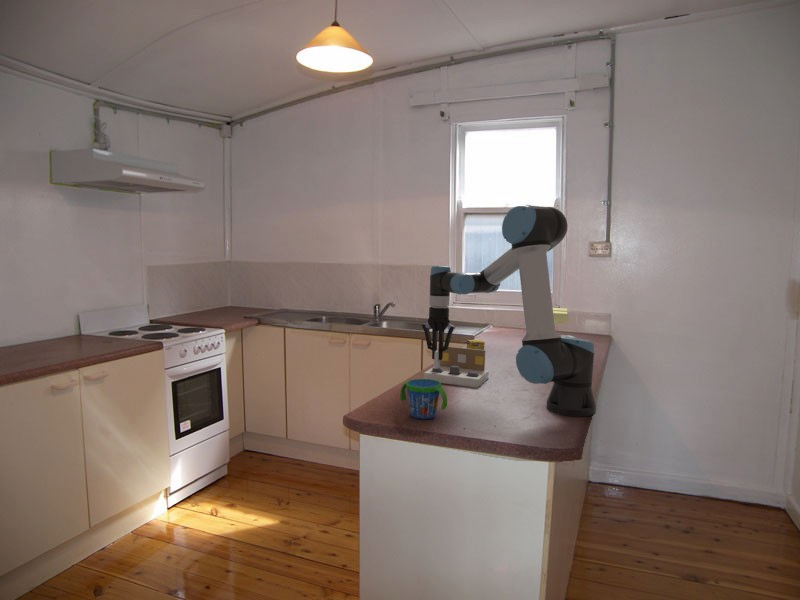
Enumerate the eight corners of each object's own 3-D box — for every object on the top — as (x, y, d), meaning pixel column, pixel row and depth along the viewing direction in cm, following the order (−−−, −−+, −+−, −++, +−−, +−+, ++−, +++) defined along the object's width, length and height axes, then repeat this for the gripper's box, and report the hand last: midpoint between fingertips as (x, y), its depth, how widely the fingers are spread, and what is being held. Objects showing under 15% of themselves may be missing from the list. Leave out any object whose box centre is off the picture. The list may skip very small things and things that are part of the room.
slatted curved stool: (536, 337, 316) (538, 306, 314) (565, 339, 311) (567, 308, 310) (533, 346, 287) (535, 312, 285) (565, 349, 283) (567, 314, 281)
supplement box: (470, 367, 233) (471, 342, 232) (465, 364, 239) (466, 339, 238) (483, 367, 235) (484, 341, 233) (478, 364, 240) (479, 339, 239)
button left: (439, 379, 209) (440, 370, 209) (430, 378, 211) (431, 369, 210) (442, 377, 213) (443, 368, 212) (433, 376, 214) (434, 367, 214)
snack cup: (391, 413, 167) (392, 380, 166) (414, 407, 174) (415, 375, 173) (431, 426, 156) (432, 391, 155) (454, 418, 164) (455, 384, 163)
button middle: (457, 377, 206) (458, 368, 206) (448, 376, 208) (448, 367, 207) (460, 375, 210) (460, 366, 209) (451, 374, 211) (451, 365, 211)
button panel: (478, 387, 200) (479, 357, 199) (423, 380, 208) (424, 351, 207) (488, 378, 215) (489, 350, 214) (437, 372, 223) (438, 345, 222)
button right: (475, 383, 204) (476, 374, 204) (466, 382, 205) (466, 373, 205) (478, 381, 207) (478, 372, 207) (468, 380, 209) (469, 371, 208)
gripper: (458, 307, 210) (456, 368, 212) (426, 304, 215) (424, 364, 217) (452, 308, 203) (450, 371, 205) (419, 306, 208) (417, 368, 210)
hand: (436, 367), depth 211 cm, fingers closed
